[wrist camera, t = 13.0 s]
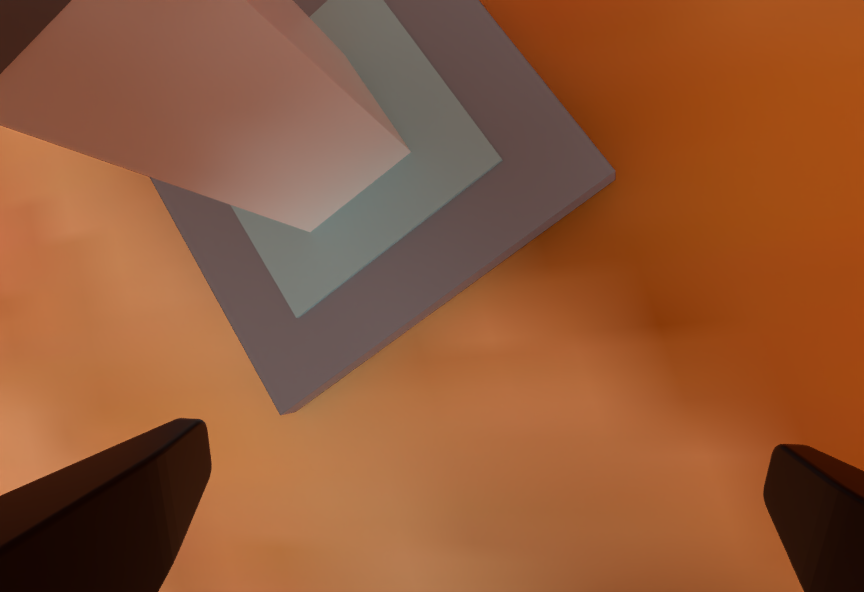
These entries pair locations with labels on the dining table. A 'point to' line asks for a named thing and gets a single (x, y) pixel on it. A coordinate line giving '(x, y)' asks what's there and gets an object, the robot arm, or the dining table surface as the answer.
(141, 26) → the block
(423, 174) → the pad
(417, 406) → the dining table surface
